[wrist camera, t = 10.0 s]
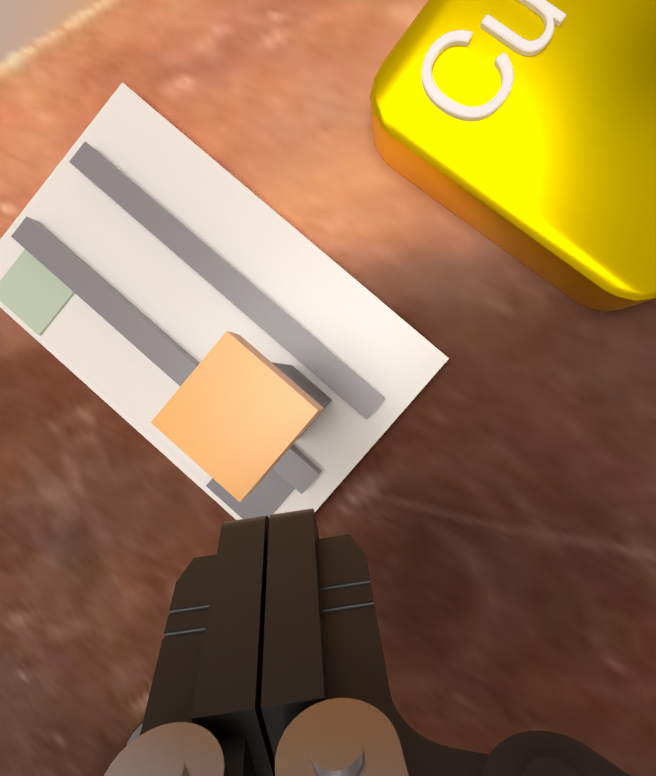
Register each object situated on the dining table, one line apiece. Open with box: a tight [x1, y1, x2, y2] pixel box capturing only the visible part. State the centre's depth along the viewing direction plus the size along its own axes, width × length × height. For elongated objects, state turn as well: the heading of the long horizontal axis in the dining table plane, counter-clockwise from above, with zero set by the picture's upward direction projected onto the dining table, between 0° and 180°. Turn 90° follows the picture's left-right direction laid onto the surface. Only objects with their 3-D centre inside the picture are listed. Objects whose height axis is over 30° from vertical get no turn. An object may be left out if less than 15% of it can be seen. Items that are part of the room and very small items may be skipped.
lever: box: [151, 331, 332, 502], centre depth 22 cm, size 3×3×11 cm
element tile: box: [370, 0, 656, 312], centre depth 26 cm, size 15×15×5 cm
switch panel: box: [0, 83, 449, 520], centre depth 28 cm, size 12×20×2 cm, turn 49°
